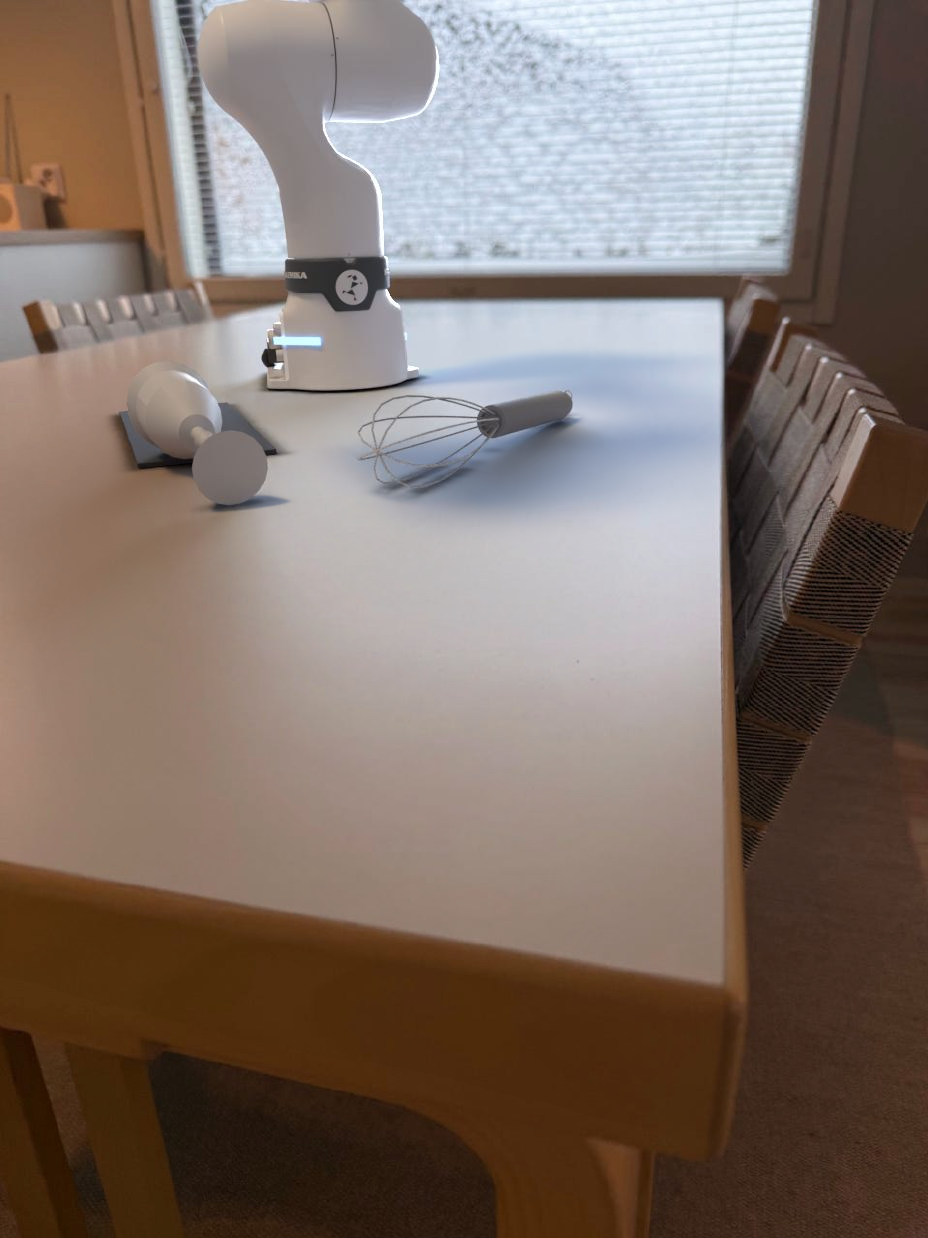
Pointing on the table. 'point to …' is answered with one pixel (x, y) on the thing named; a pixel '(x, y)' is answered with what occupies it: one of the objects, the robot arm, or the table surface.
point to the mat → (155, 457)
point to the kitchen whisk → (481, 424)
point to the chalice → (195, 431)
